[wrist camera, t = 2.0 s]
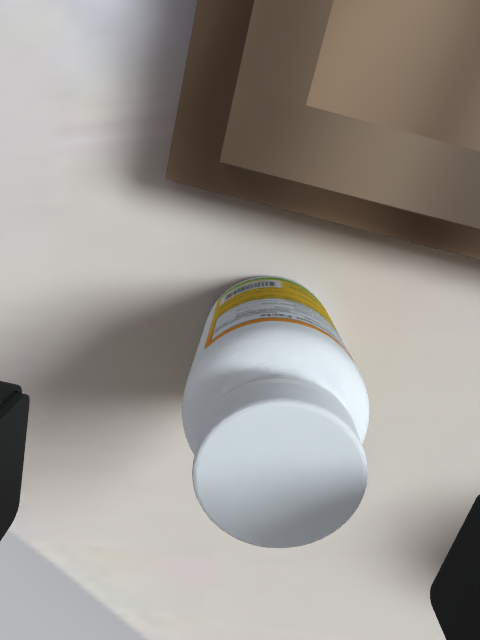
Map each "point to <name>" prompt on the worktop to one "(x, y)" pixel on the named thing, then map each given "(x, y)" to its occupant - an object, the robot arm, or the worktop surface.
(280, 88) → the brown rectangular recessed tray
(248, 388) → the supplement bottle
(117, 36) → the worktop surface
